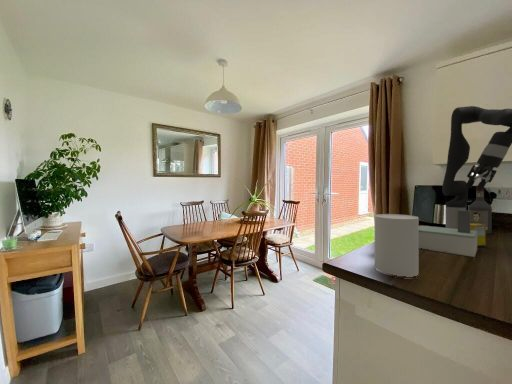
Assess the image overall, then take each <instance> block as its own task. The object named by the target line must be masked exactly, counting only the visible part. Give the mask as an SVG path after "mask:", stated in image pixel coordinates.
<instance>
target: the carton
mask: <svg viewBox="0 0 512 384" xmlns="http://www.w3.org/2000/svg"><path fill="white" fill-rule="evenodd" d="M421 248H422V249H421ZM419 249H421V250H427V249H428V251H433V252H441V253H447V254H452V255H458V256H466V257H471V258H475V257H476V254H477V252H478V247H477V235H476V237H475V238H468V237H460V236H451V235H442V234H433V233H425V232H419Z"/></svg>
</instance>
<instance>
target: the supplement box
mask: <svg viewBox="0 0 512 384" xmlns="http://www.w3.org/2000/svg"><path fill="white" fill-rule="evenodd" d="M485 229H486V225H482V224H477V223H470V230H473V231H477V248H478V247H482V248H485V247H486V243H487V242H486V236H487V234H486V230H485Z"/></svg>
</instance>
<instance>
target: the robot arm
mask: <svg viewBox="0 0 512 384" xmlns="http://www.w3.org/2000/svg"><path fill="white" fill-rule="evenodd" d="M450 118H451V119H450V136H449V137H450V138H449V146H448V150H447V151H448V152H447V162H446V167H445V173H444V177H443V182H442V186H441V189H442V194H443V195H444V196H448V197H449V196H452V197H454V196H455V197H454V198H453V199H451V200H449V201H446V202H445V228H453V229H458V210H466V211H467V205H468V197H469V189H472V187H473V186H474V184H475V182H476V180H478V179H480V181H479V183H478V184H477V185H476V186H477V188H476V187H475V190H476V189H478V190H483V188H484V189H485V186H486V185H487V184H488V183H491V182H492V181H493V180H494V177H495V175H496V174H497V170H496V169H497V168H499V167H500V165H501V163H502V162H503V160H504V159H505V157H506V155H507V153H508V151H509V149H510V147H511V145H512V108H502V109H498V108H497V109H493V108H492V109H487V108H482V107H480V106H474V105H469V106H461V107H460V106H459V107H455V108H454V109H453V111H452V113H451V117H450ZM480 122H481V123H482V124H484V125H489V126H502V127H507V128H508V129H507V130H505V131H496V132H495V133H493V135H492V136H491V138H490V140H489V141H488V143H487V144H486V146H485V147H484V149H483V151H482V152H481V153H480V156H479V158H478V160H477V161H476V163H477V164H478V165H477V164H474V165H472V167H471V168H470V170H469V172H468V174H466V178H468V180H467V181H466V180H455V178H456V176H457V173H458V172H459V170H460V169H462V167H463V166H464V165H465V164H466V163H467V162H468V159H469V157H470V151H471V145H470V144H469V142H468V140H467V139H466V137H465V135H464V134H463V129H462V128H463V125H468V124H473V123H480ZM494 168H495V169H494Z"/></svg>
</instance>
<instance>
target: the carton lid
mask: <svg viewBox="0 0 512 384" xmlns="http://www.w3.org/2000/svg"><path fill="white" fill-rule="evenodd" d="M419 232H425V233H433V234H442V235H451V236H460V237H468V238H475V237H476V235H477V231H473V230H470V211H469V210H467V209H466V210H458V229H453V228H446V227H441V226H430V225H419Z"/></svg>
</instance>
